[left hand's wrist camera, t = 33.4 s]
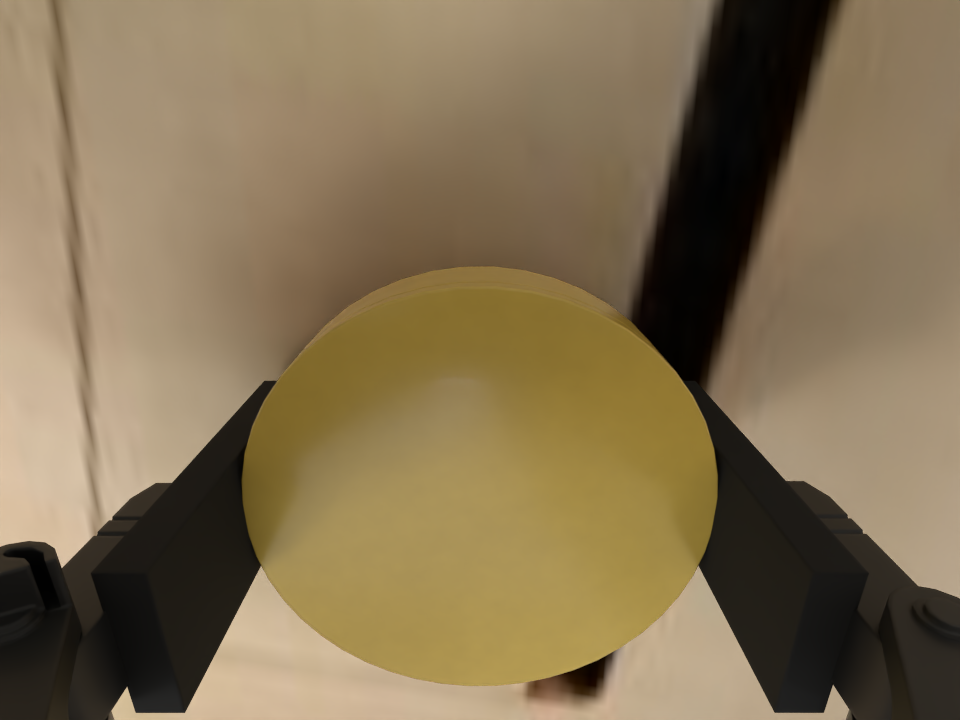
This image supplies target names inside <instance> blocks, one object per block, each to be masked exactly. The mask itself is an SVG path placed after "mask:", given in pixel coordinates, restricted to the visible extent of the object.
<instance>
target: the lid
mask: <svg viewBox="0 0 960 720" xmlns="http://www.w3.org/2000/svg"><path fill="white" fill-rule="evenodd" d="M717 497H718V472H717V465H716V458H715V451H714V446H713V443H712V440H711V437H710V433H709V430H708V427H707V424H706V421H705V419H704V417H703V415H702V413H701V411H700V409H699V407H698V405H697V403H696V401H695V399H694V397H693V395H692V394H691V392H690V391H689V390H688V388H687V387H686V385H685V384H684V382H683V381H682V380H681V378H680V377H679V375H678V374H677V373H676V371H675V370H674V369H673V368H672V367H671V365H670V364H669V363H668V362H667V361H666V360H665V358H664V357H663V356H662V355H661V354H660V353H659V351H658V350H657V349H656V348H655V347H654V346H653V344H652V343H651V342H650V341H649V340H648V339H647V338H646V337H645V336H644V335H643V334H642V333H641V332H640V331H639V330H638V329H637V328H636V327H635V325H634V324H633V323H632V322H631V321H629V320H628V319H627V318H626V317H624V316H623V315H622V314H620V313H619V312H618V311H617V310H615V309H614V308H613V307H611V306H610V305H609V304H607V303H606V302H604V301H602V300H600V299H599V298H597V297H595V296H593V295H592V294H590V293H588V292H586V291H585V290H583V289H581V288H578V287H576V286H573V285H571V284H568V283H566V282H564V281H561V280H559V279H556V278H553V277H549V276H546V275H542V274H538V273H534V272H530V271H526V270H520V269H511V268H503V267H495V266H473V267H455V268H448V269H441V270H434V271H429V272H425V273H422V274H418V275H415V276H411V277H407V278H404V279H400V280H398V281H396V282H394V283H391V284H389V285H387V286H384V287H382V288H380V289H377V290H375V291H373V292H371V293H369V294H368V295H366V296H364V297H363V298H361V299H359V300H358V301H356V302H355V303H353V304H351V305H350V306H348V307H347V308H345V309H344V310H343V311H342V312H341V313H339V314H338V315H337V316H336V317H334V318H333V319H332V320H331V321H329V322H328V323H327V324H326V325H325V326H324V327H323V328H322V329H321V330H320V331H319V332H318V333H317V335H316V336H315V337H314V338H313V339H312V340H311V341H310V342H309V343H308V344H307V346H306V347H305V348H304V349H303V350H302V351H301V353H300V354H299V355H298V356H297V357H296V358H295V360H294V361H293V362H292V363H291V364H290V365H289V367H288V368H287V369H286V370H285V371H284V372H283V374H282V375H281V376H280V378H279V379H278V381H277V382H276V384H275V385H274V387H273V388H272V390H271V391H270V392H269V394H268V395H267V397H266V398H265V400H264V402H263V404H262V406H261V408H260V411H259V413H258V415H257V417H256V419H255V421H254V423H253V426H252V429H251V432H250V436H249V439H248V443H247V446H246V450H245V454H244V463H243V471H242V501H243V507H244V512H245V518H246V523H247V528H248V533H249V537H250V540H251V543H252V545H253V548H254V551H255V554H256V557H257V558H258V560H259V562H260V564H261V566H262V568H263V570H264V572H265V573H266V575H267V577H268V579H269V580H270V582H271V583H272V585H273V586H274V587H275V589H276V590H277V592H278V593H279V594H280V596H281V597H282V599H283V600H284V601H285V602H286V603H287V604H288V605H289V606H290V607H291V608H292V610H293V611H294V612H295V613H296V614H297V615H298V616H299V617H300V618H301V619H302V620H303V621H304V622H306V623H307V624H308V625H309V626H310V627H311V628H313V629H314V630H315V631H316V632H317V633H319V634H320V635H321V636H322V637H324V638H325V639H327V640H329V641H330V642H332V643H333V644H335V645H336V646H338V647H339V648H341V649H342V650H344V651H346V652H348V653H350V654H352V655H353V656H355V657H357V658H359V659H361V660H363V661H365V662H367V663H370V664H372V665H375V666H377V667H380V668H382V669H385V670H388V671H390V672H393V673H397V674H400V675H404V676H407V677H411V678H415V679H419V680H425V681H430V682H436V683H441V684H452V685H463V686H498V685H507V684H517V683H525V682H530V681H534V680H539V679H544V678H549V677H552V676H556V675H559V674H562V673H565V672H569V671H572V670H575V669H577V668H580V667H582V666H584V665H587V664H589V663H592V662H594V661H596V660H599V659H600V658H602V657H604V656H606V655H608V654H610V653H612V652H613V651H615V650H617V649H619V648H621V647H622V646H624V645H625V644H627V643H628V642H629V641H631V640H632V639H634V638H635V637H637V636H638V635H639V634H641V633H642V632H643V631H645V630H646V629H647V628H648V627H649V626H650V625H651V624H653V623H654V622H655V621H656V620H657V619H658V618H659V617H661V616H662V615H663V614H664V612H665V611H666V610H667V609H668V608H669V607H670V606H671V605H672V603H673V602H674V601H675V600H676V599H677V598H678V597H679V595H680V594H681V592H682V591H683V590H684V588H685V587H686V585H687V584H688V582H689V581H690V579H691V578H692V576H693V575H694V573H695V571H696V569H697V567H698V565H699V563H700V561H701V559H702V557H703V555H704V553H705V550H706V547H707V544H708V541H709V538H710V535H711V530H712V525H713V520H714V515H715V509H716V504H717Z"/></svg>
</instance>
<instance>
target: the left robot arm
mask: <svg viewBox="0 0 960 720" xmlns="http://www.w3.org/2000/svg"><path fill="white" fill-rule="evenodd" d="M276 382H277V381H264V382H263V383H262V384H261V385H260V386H259V388H258V389H257V390H256V391H255V392H254V393H253V394H252V395H251V396H250V397H249V399H248V400H247V401H246V402H245V403H244V404H243V405H242V406H241V407H240V409H239V410H238V411H237V412H236V413H235V414H234V415H233V416H232V417H231V418H230V420H229V421H228V422H227V423H226V424H225V425H224V426H223V427H222V428H221V430H220V431H219V432H218V433H217V434H216V435H215V436H214V437H213V438H212V439H211V441H210V442H209V443H208V444H207V445H206V446H205V447H204V448H203V449H202V451H201V452H200V453H199V454H198V455H197V456H196V457H195V458H194V459H193V460H192V462H191V463H190V464H189V465H188V466H187V467H186V468H185V469H184V470H183V472H182V473H181V474H180V475H179V476H178V477H177V478H176V479H175V480H174V481H173V483H155V484H154V485H152V486H151V487H149V488H147V489H146V490H144V491H142V492H141V493H139V494H137V495H136V496H134V497H132V498H131V499H130V500H129V501H128V502H127V503H126V504H125V505H124V506H123V507H122V508H121V509H120V510H119V511H118V512H117V513H116V514H115V515H114V516H113V519H112V520H109V521H108V522H107V523H106V524H105V525H104V526H103V527H102V528H101V529H100V530H99V531H98V534H97V536H93V537H92V538H91V539H90V540H89V541H88V542H87V543H86V544H85V545H84V546H83V547H82V548H81V549H80V551H79V552H78V553H77V554H76V555H75V556H74V557H73V558H72V559H71V560H70V561H69V562H68V563H67V564H66V565H65V566H64V567H63V568H61V565H60V562H59V559H58V557H57V554H56V551H55V548H53V547H51V546H50V545H48V544H47V543H44V542H33V541H27V542H20V543H14V544H8V545H5V546H2V547H0V720H114V718H113V715H112V712H111V710H112V709H113V707H114V706H115V704H116V703H117V701H118V700H119V698H120V696H121V695H122V693H123V692H124V690H125V689H126V687H128V690H129V693H130V696H131V699H132V702H133V706H134V709H135V712H136V713H185V712H186V710H187V708H188V706H189V704H190V702H191V700H192V698H193V696H194V694H195V692H196V690H197V688H198V686H199V684H200V683H201V681H202V679H203V677H204V675H205V673H206V671H207V669H208V667H209V665H210V663H211V661H212V659H213V657H214V655H215V654H216V652H217V650H218V648H219V646H220V644H221V642H222V640H223V638H224V636H225V634H226V632H227V630H228V628H229V626H230V625H231V623H232V621H233V619H234V617H235V615H236V613H237V611H238V609H239V607H240V605H241V603H242V601H243V599H244V598H245V596H246V594H247V592H248V590H249V588H250V586H251V584H252V582H253V580H254V578H255V576H256V574H257V572H258V570H259V569H260V567H261V564H260V562H259V560H258V558H257V557H256V554H255V551H254V548H253V545H252V543H251V540H250V537H249V533H248V528H247V523H246V518H245V512H244V507H243V501H242V471H243V463H244V454H245V450H246V446H247V443H248V439H249V436H250V432H251V429H252V426H253V423H254V421H255V419H256V417H257V415H258V413H259V411H260V408H261V406H262V404H263V402H264V400H265V398H266V397H267V395H268V394H269V392H270V391H271V390H272V388H273V387H274V385H275V384H276ZM683 382H684V384H685V385H686V387H687V388H688V390H689V391H690V392H691V394H692V395H693V397H694V399H695V401H696V403H697V405H698V407H699V409H700V411H701V413H702V415H703V417H704V419H705V421H706V424H707V427H708V430H709V433H710V437H711V440H712V443H713V446H714V451H715V458H716V465H717V472H718V497H717V504H716V509H715V515H714V520H713V525H712V530H711V535H710V538H709V541H708V544H707V547H706V550H705V553H704V555H703V557H702V559H701V561H700V563H699V567H700V569H701V571H702V573H703V575H704V577H705V579H706V581H707V583H708V585H709V587H710V589H711V590H712V592H713V594H714V596H715V598H716V600H717V602H718V604H719V606H720V608H721V610H722V612H723V614H724V616H725V618H726V619H727V621H728V623H729V625H730V627H731V629H732V631H733V633H734V635H735V637H736V639H737V641H738V643H739V645H740V647H741V648H742V650H743V652H744V654H745V656H746V658H747V660H748V662H749V664H750V666H751V668H752V670H753V672H754V674H755V676H756V677H757V679H758V681H759V683H760V685H761V687H762V689H763V691H764V693H765V695H766V697H767V699H768V701H769V703H770V704H771V706H772V708H773V710H774V712H775V713H824V710H825V707H826V704H827V701H828V698H829V695H830V692H831V689H832V686H833V685H834V686H835V688H836V689H837V691H838V693H839V694H840V696H841V697H842V699H843V700H844V702H845V703H846V705H847V706H848V708H849V712H848V715H847V718H846V720H960V599H959V598H957V597H955V596H952V595H949V594H947V593H944V592H941V591H938V590H936V589H931V588H925V587H919V586H917V585H916V584H915V583H914V582H913V581H912V580H911V579H910V578H909V577H908V576H907V575H906V574H905V572H904V571H903V570H902V569H901V568H900V567H899V566H898V565H897V564H896V563H895V562H894V561H893V560H892V559H891V558H890V557H889V556H888V555H887V554H886V553H885V552H884V551H883V550H882V549H881V548H880V547H879V546H878V545H877V544H876V543H875V542H874V541H873V540H872V539H871V538H870V537H869V536H868V535H867V534H863V532H862V531H863V530H862V529H861V528H860V527H859V526H858V525H857V524H856V523H855V522H854V521H853V520H852V519H848V517H847V516H848V515H847V514H846V513H845V512H844V511H843V510H842V509H841V508H840V507H839V506H838V505H837V504H836V503H835V502H834V501H833V500H832V499H831V498H830V497H829V496H828V495H826V494H824V493H823V492H821V491H819V490H818V489H816V488H814V487H813V486H811V485H809V484H808V483H806V482H804V481H785V480H784V479H783V477H782V476H781V475H780V474H779V473H778V472H777V471H776V470H775V469H774V468H773V466H772V465H771V464H770V463H769V462H768V461H767V460H766V459H765V458H764V456H763V455H762V454H761V453H760V452H759V451H758V450H757V449H756V448H755V447H754V445H753V444H752V443H751V442H750V441H749V440H748V439H747V438H746V437H745V435H744V434H743V433H742V432H741V431H740V430H739V429H738V428H737V427H736V426H735V424H734V423H733V422H732V421H731V420H730V419H729V418H728V417H727V416H726V414H725V413H724V412H723V411H722V410H721V409H720V408H719V407H718V406H717V405H716V403H715V402H714V401H713V400H712V399H711V398H710V397H709V396H708V395H707V393H706V392H705V391H704V390H703V389H702V388H701V387H700V386H699V385H698V384H697V382H696V381H683Z"/></svg>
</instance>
